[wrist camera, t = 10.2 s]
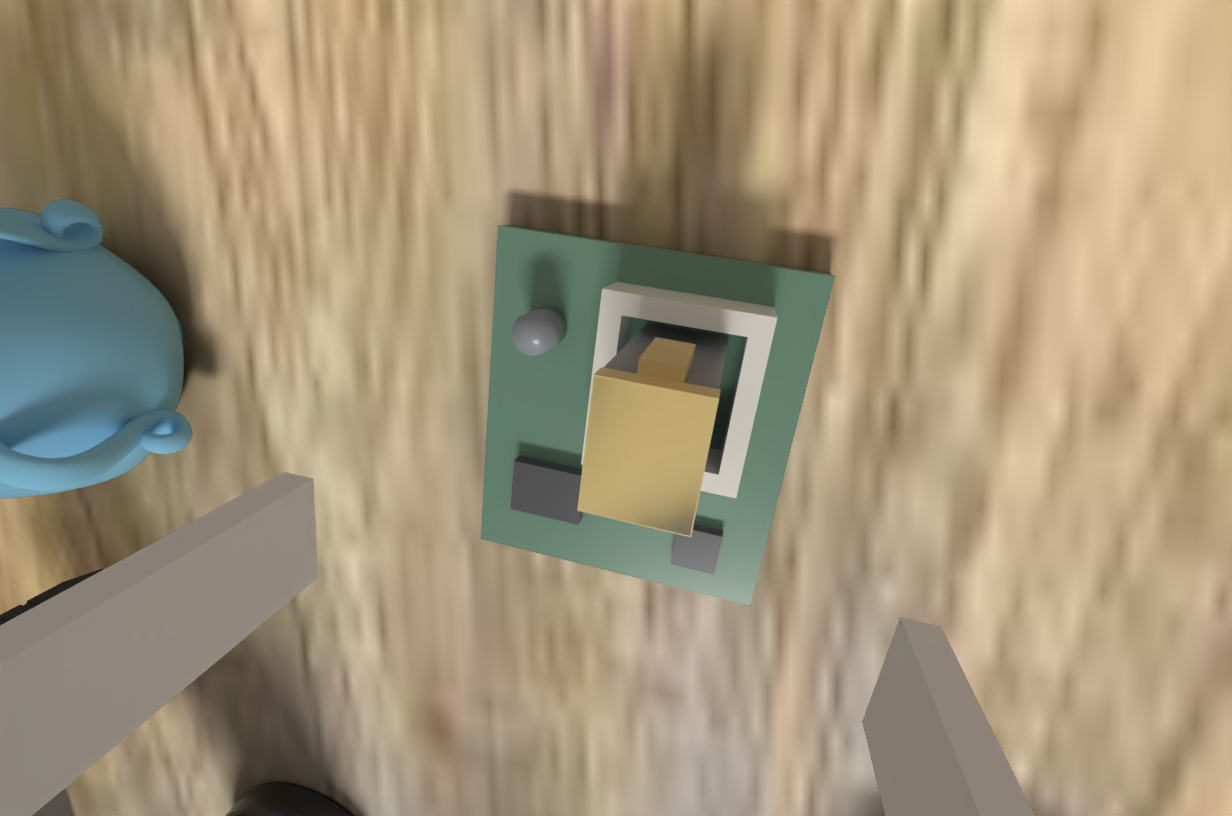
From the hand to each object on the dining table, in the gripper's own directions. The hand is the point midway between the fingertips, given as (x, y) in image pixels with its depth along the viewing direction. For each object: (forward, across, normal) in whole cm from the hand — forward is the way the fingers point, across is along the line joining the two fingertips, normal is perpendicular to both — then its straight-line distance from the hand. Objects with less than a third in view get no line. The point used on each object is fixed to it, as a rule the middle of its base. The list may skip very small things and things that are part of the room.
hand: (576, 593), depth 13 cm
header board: (+19, -2, -2) cm, 19 cm away
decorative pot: (+19, -37, -4) cm, 42 cm away
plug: (+17, 0, 0) cm, 17 cm away
